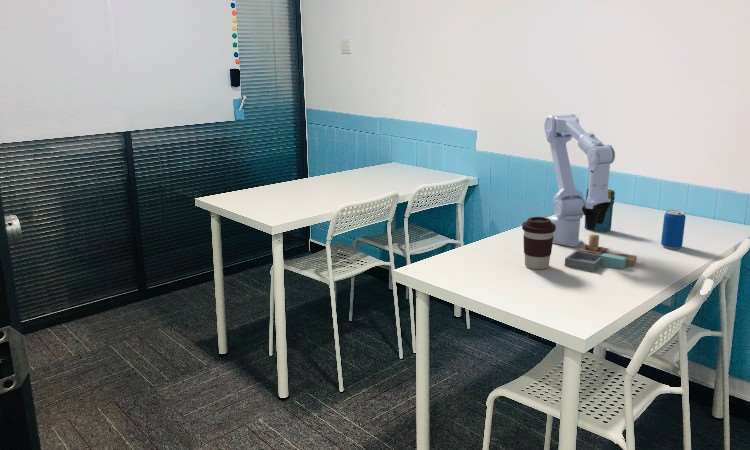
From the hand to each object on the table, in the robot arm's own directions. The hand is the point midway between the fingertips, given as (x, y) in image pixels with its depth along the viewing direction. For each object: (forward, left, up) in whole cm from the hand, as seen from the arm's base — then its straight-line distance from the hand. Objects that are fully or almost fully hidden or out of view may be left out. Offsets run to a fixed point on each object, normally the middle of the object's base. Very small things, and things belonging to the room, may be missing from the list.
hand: (595, 226), depth 207 cm
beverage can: (+18, +25, -10) cm, 32 cm away
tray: (0, -9, -10) cm, 14 cm away
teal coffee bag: (-9, +31, -10) cm, 33 cm away
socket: (0, 0, -10) cm, 10 cm away
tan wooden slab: (+9, 0, -11) cm, 14 cm away
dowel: (0, 0, -10) cm, 10 cm away
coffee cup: (-11, -18, -10) cm, 24 cm away
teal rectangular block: (+8, -5, -10) cm, 14 cm away
